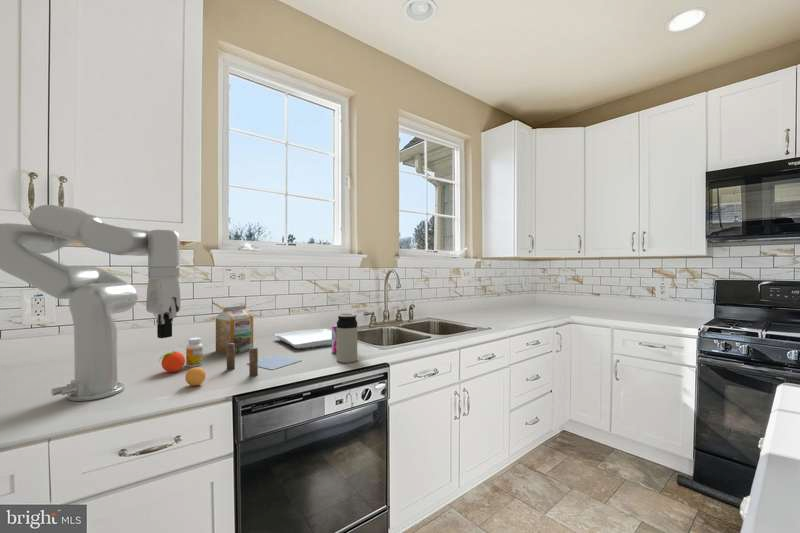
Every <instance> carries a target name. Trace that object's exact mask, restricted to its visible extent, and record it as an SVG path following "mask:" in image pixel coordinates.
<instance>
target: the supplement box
mask: <svg viewBox="0 0 800 533" xmlns="http://www.w3.org/2000/svg"><path fill="white" fill-rule="evenodd" d="M331 330H332V345H331V354H334V355H335V354H336V355H337V324H334V325H333V326H331Z"/></svg>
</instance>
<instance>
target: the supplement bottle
mask: <svg viewBox="0 0 800 533" xmlns="http://www.w3.org/2000/svg"><path fill="white" fill-rule="evenodd" d="M187 342H188V344H187V345H186V347H185V350H186V351H185V356H186V357H185V365H186V367H190V368H194V367H199V366H202V365H203V364H204V345H203V343H201V342H202V338H201V337H191V338H188V341H187Z"/></svg>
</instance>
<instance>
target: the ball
mask: <svg viewBox="0 0 800 533" xmlns="http://www.w3.org/2000/svg"><path fill="white" fill-rule="evenodd" d="M205 379H206V371H205V369H204V368H203V367H199V366H195V367H191V368H190V369H188V371H187V372H186V374H185V382H186V383H187V384H188V385H189V386H192V387H196V386H199V385H201V384H203V382H204V381H205Z"/></svg>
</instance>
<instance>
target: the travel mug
mask: <svg viewBox="0 0 800 533" xmlns="http://www.w3.org/2000/svg"><path fill="white" fill-rule="evenodd" d="M336 315H337V317H338V318H337V322H336V325H337V354H336V361H337V362H339V363H343V364H351V363H354V362H356V361H357V360H358V321H357V315H358V314H357V313H355V312H342V313H337V314H336Z"/></svg>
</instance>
